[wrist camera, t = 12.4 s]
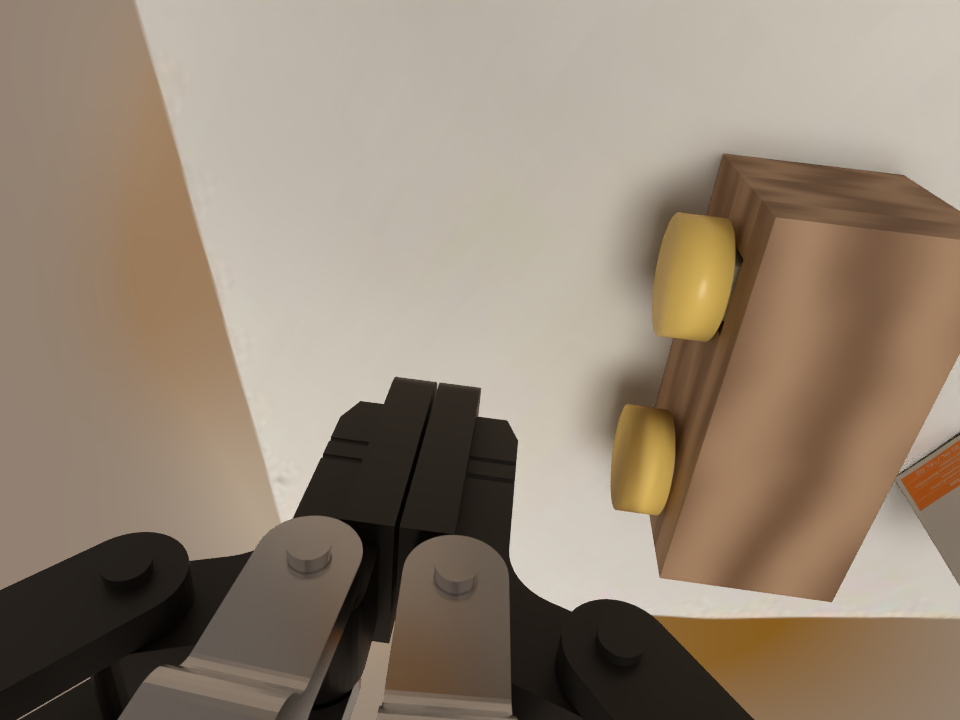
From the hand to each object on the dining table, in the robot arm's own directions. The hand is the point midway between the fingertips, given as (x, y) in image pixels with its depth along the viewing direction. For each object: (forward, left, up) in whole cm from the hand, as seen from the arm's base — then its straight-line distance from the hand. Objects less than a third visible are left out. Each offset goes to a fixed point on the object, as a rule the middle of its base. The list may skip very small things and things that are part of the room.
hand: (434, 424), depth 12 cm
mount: (+20, 0, -31) cm, 37 cm away
